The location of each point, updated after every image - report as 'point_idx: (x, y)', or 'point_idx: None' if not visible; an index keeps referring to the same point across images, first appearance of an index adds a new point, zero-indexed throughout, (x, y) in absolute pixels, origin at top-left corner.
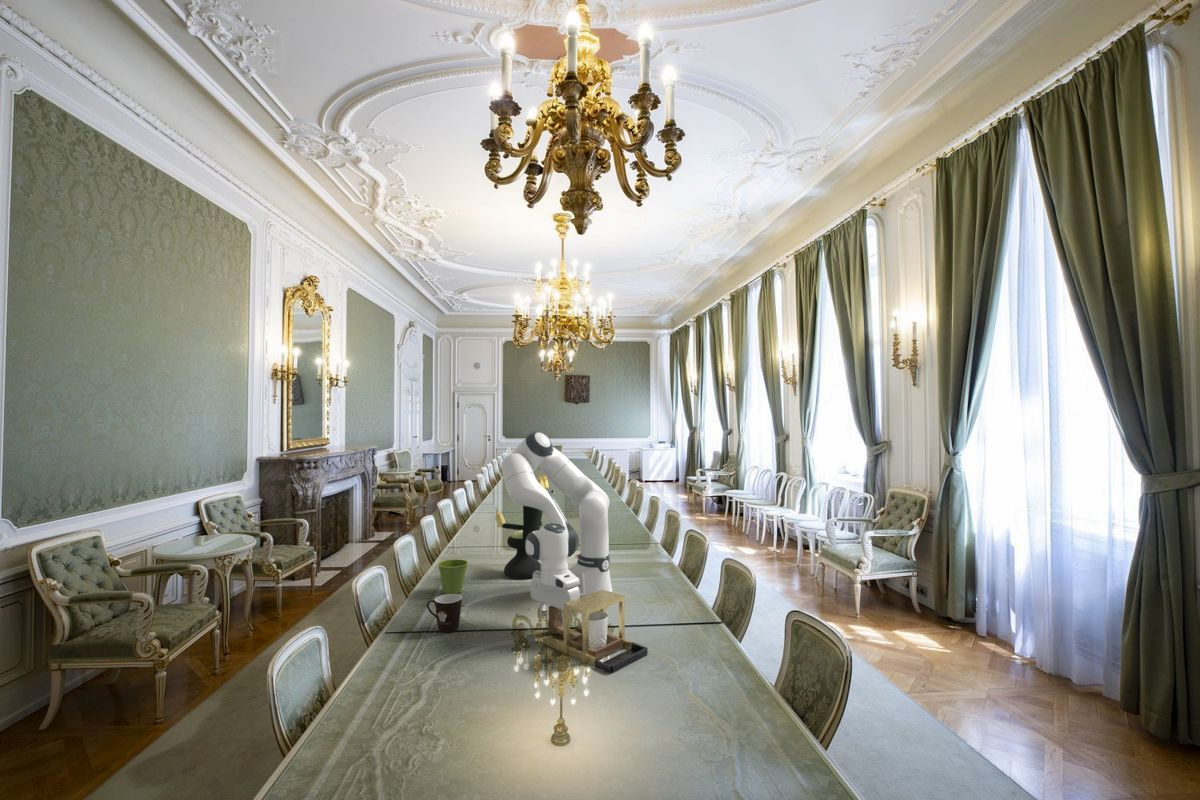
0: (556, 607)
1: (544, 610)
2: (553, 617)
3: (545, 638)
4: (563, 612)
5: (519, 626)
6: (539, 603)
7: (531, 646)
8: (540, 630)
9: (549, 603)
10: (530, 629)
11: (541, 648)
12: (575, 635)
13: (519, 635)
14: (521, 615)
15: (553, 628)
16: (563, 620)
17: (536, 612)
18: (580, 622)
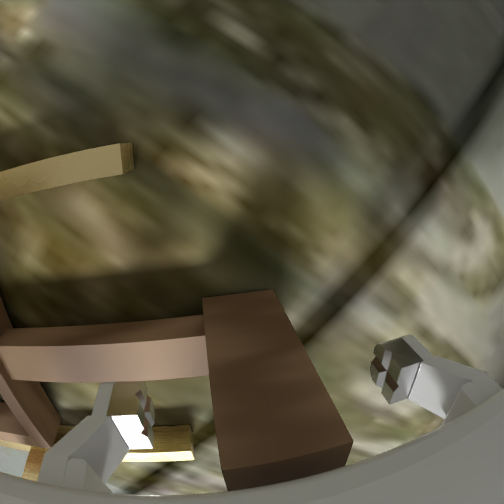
0: (161, 500)
1: (402, 377)
2: (231, 382)
3: (94, 148)
4: (73, 467)
5: (457, 202)
6: (479, 382)
7: (157, 46)
8: (338, 265)
9: (334, 494)
10: (394, 223)
11: (78, 88)
12: (10, 346)
13: (377, 106)
14: (499, 287)
15: (220, 318)
16: (96, 402)
17: (468, 351)
18: (189, 458)
